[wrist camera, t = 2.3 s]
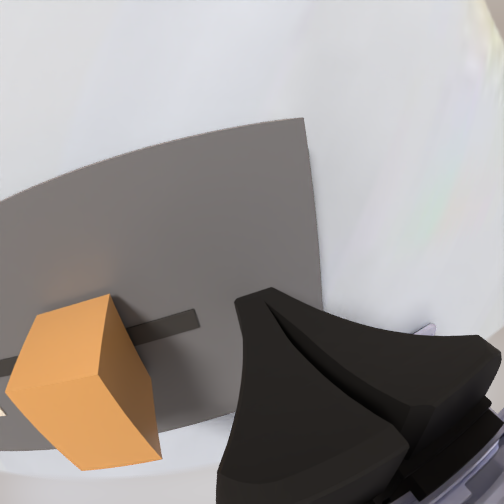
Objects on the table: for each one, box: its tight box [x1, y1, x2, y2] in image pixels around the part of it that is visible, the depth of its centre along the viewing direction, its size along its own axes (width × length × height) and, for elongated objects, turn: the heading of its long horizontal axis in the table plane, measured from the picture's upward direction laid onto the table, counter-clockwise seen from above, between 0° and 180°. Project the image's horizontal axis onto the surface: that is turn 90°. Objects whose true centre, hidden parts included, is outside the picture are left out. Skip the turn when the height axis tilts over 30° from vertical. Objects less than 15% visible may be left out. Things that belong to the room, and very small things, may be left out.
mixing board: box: [0, 118, 323, 451], centre depth 10 cm, size 12×24×2 cm, turn 100°
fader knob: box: [5, 294, 162, 471], centre depth 8 cm, size 4×3×4 cm
